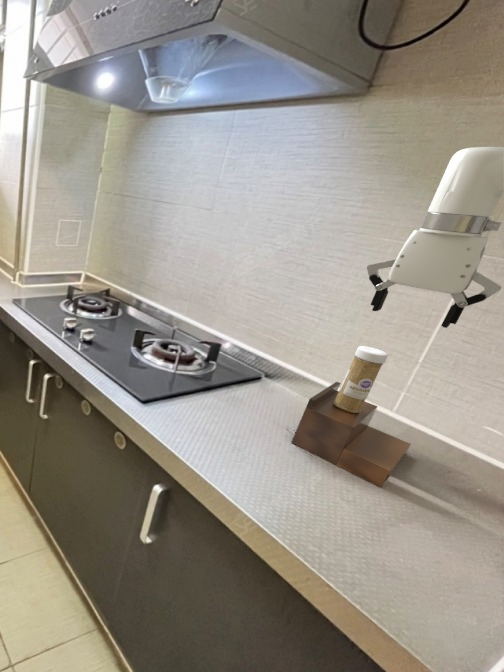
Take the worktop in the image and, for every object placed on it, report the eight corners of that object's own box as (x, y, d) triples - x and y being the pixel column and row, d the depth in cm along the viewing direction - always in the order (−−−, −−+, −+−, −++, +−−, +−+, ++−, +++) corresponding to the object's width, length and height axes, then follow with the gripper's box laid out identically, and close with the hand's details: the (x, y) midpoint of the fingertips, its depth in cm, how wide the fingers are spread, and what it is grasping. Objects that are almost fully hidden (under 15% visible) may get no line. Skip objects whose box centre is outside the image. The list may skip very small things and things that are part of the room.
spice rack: (402, 459, 82) (427, 415, 78) (380, 487, 73) (407, 439, 69) (318, 421, 93) (336, 381, 89) (290, 442, 84) (309, 398, 80)
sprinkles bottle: (345, 413, 79) (373, 354, 75) (327, 401, 84) (352, 344, 79) (366, 414, 80) (395, 355, 75) (346, 402, 84) (373, 345, 79)
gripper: (532, 232, 63) (479, 330, 69) (392, 219, 76) (357, 302, 82) (530, 233, 59) (473, 337, 65) (381, 219, 72) (346, 307, 78)
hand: (408, 317), depth 74 cm, fingers open, 9 cm apart
